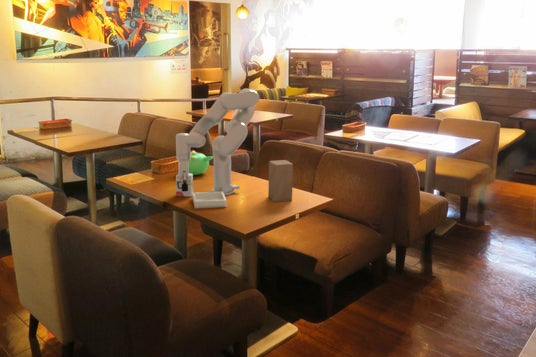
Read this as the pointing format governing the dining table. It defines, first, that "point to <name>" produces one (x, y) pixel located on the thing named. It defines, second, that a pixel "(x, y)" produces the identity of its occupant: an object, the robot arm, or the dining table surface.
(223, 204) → the tray
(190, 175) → the ink box
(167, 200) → the dining table surface
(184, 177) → the robot arm
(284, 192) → the wooden block
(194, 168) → the green teapot
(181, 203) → the dining table surface
